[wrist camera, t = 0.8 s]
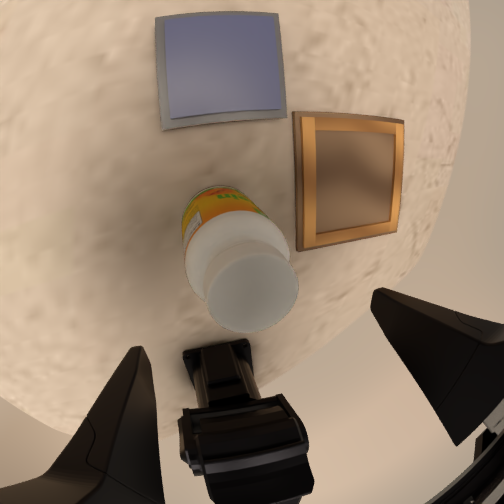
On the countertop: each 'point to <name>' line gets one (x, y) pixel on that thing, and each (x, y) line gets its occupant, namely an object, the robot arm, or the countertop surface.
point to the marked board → (346, 177)
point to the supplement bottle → (237, 260)
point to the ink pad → (219, 68)
